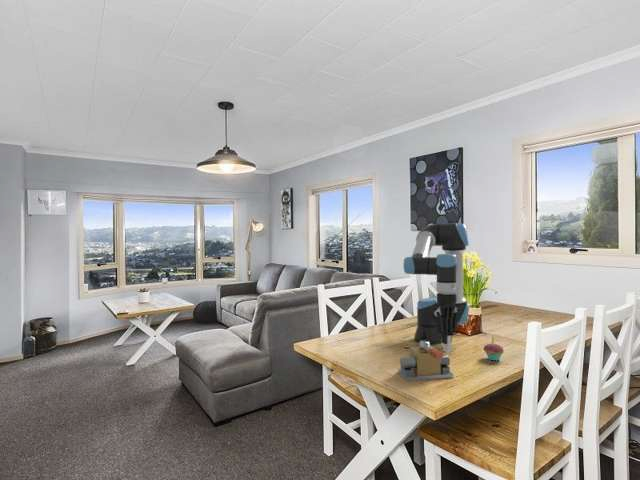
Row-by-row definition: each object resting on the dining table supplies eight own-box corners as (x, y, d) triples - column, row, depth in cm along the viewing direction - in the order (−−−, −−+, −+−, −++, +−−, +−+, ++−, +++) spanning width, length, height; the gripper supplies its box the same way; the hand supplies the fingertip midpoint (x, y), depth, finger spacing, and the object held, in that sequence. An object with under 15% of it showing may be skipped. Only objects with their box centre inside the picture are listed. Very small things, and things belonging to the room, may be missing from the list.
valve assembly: (441, 368, 158) (441, 344, 158) (453, 377, 148) (453, 351, 148) (397, 371, 155) (397, 346, 155) (406, 381, 145) (406, 354, 145)
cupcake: (502, 363, 163) (502, 337, 163) (482, 360, 168) (482, 334, 167) (504, 358, 170) (504, 332, 170) (484, 355, 175) (484, 330, 175)
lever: (418, 347, 153) (418, 340, 153) (427, 347, 154) (427, 340, 154) (434, 360, 138) (434, 352, 138) (444, 359, 138) (444, 352, 138)
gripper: (441, 295, 138) (442, 356, 139) (465, 292, 144) (466, 351, 145) (427, 292, 145) (428, 351, 145) (450, 290, 151) (451, 346, 151)
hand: (447, 351), depth 145 cm, fingers closed
